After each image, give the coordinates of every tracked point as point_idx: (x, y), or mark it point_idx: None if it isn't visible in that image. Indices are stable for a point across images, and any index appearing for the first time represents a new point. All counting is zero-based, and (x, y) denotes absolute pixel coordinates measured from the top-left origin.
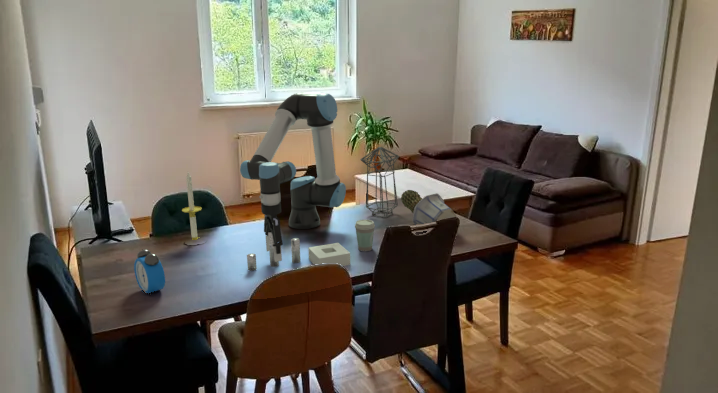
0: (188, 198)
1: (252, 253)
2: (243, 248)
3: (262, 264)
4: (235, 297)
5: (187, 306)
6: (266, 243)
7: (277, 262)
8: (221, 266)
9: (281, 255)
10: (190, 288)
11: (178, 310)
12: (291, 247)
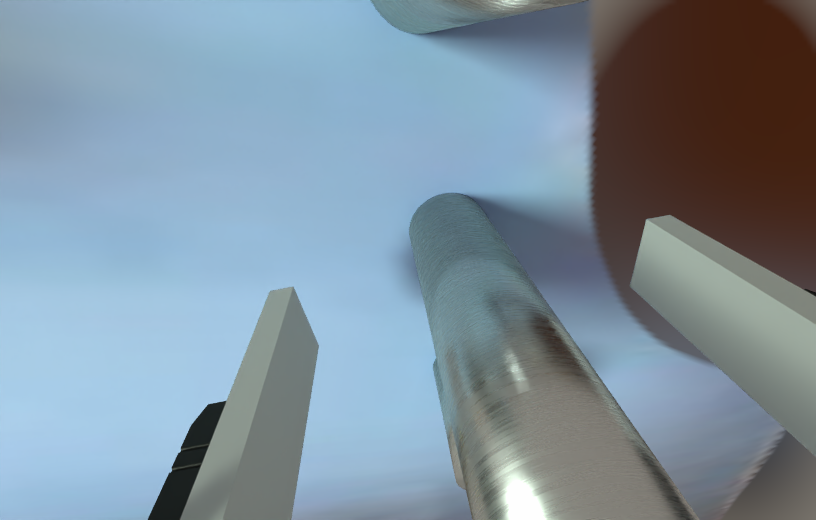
0: None
1: (458, 469)
2: (26, 424)
3: (393, 312)
4: (757, 406)
5: (693, 501)
6: (301, 438)
7: (490, 222)
8: (363, 477)
9: (729, 250)
10: None
11: (700, 511)
12: (479, 21)
